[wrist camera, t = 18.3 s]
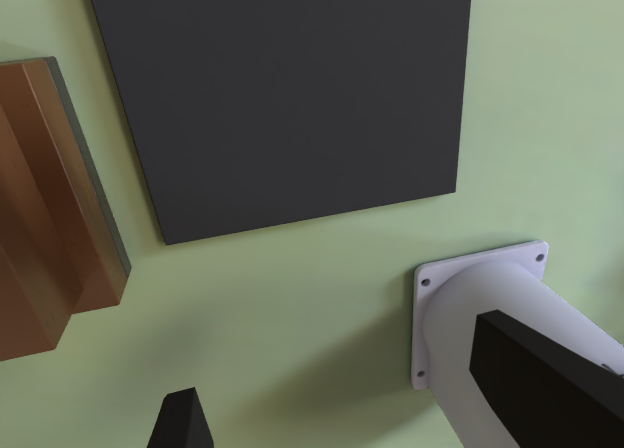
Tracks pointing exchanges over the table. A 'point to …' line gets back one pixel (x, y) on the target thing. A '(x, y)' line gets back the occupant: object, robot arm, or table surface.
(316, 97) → the mat
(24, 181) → the brown stepped block
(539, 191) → the table surface
